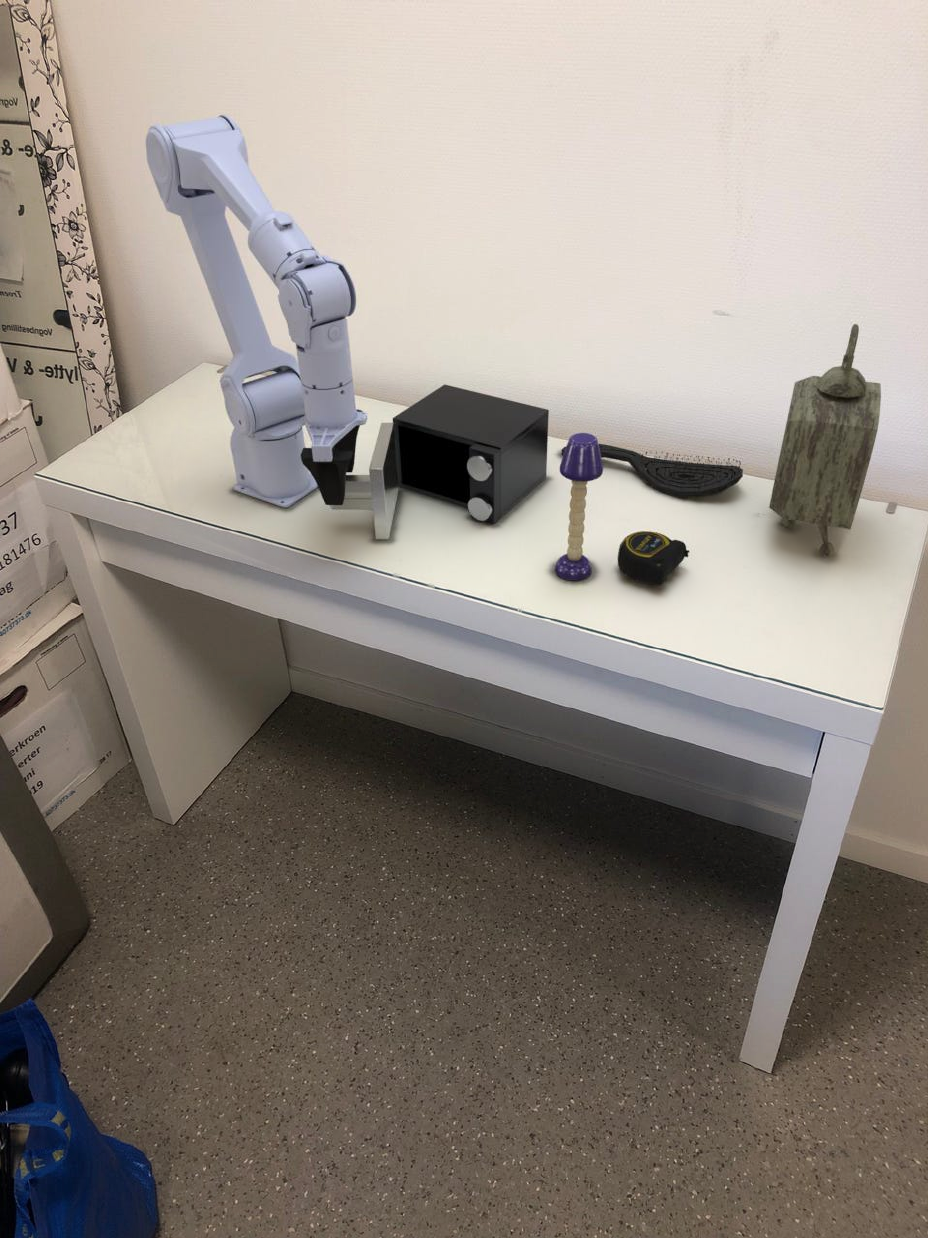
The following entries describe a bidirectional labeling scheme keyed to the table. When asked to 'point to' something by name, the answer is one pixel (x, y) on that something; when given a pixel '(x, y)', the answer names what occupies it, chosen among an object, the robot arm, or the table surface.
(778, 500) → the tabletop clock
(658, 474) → the hairbrush
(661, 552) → the tape measure
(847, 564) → the table surface
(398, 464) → the microwave
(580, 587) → the table surface
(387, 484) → the microwave door
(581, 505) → the toy lamp
